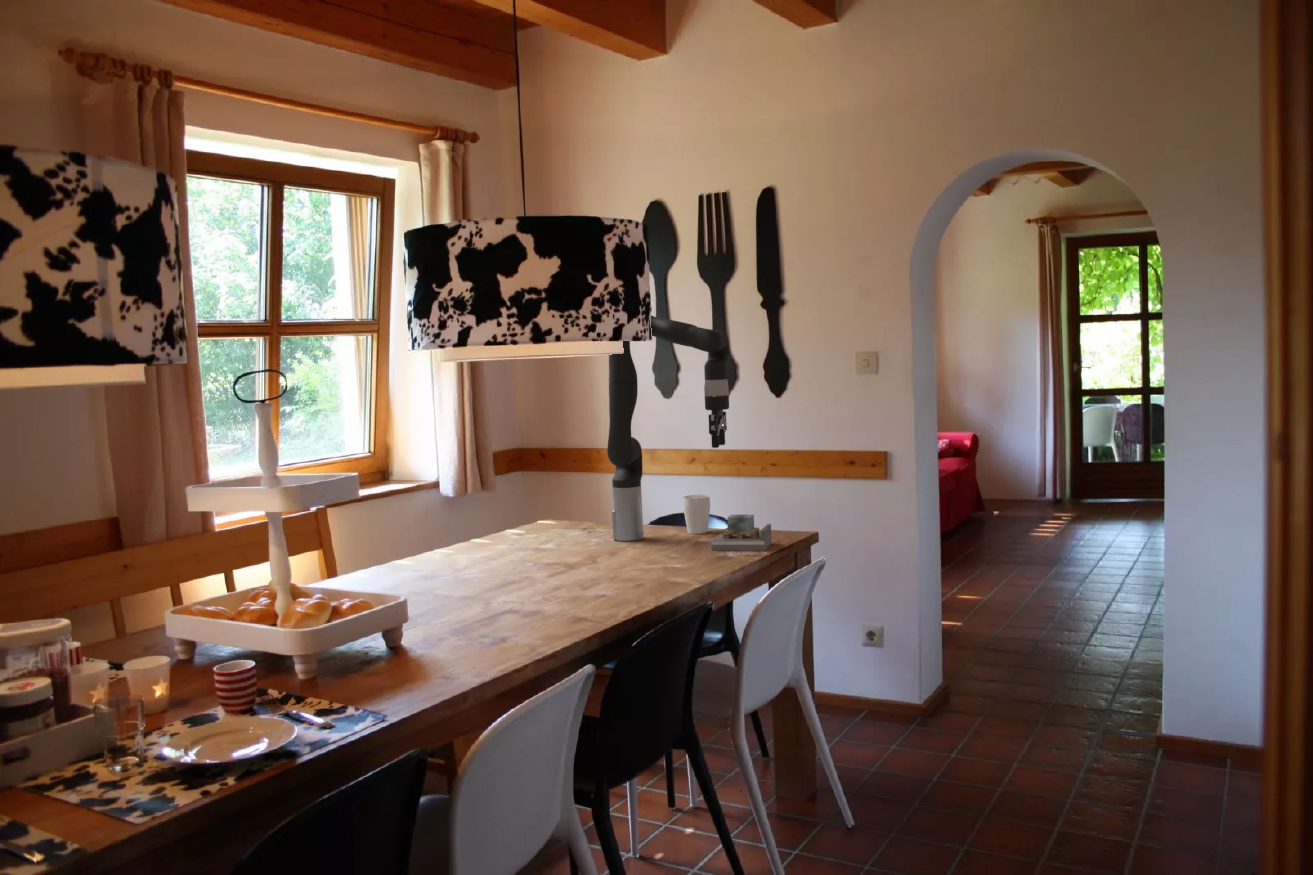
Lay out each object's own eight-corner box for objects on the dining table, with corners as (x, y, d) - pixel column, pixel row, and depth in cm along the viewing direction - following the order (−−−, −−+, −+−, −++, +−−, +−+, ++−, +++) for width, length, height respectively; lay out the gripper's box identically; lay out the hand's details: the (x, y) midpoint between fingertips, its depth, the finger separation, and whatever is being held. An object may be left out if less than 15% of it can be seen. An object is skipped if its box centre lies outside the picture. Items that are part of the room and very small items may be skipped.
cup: (679, 532, 352) (677, 496, 351) (703, 529, 356) (702, 493, 355) (691, 535, 344) (690, 499, 343) (716, 532, 348) (714, 496, 347)
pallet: (723, 538, 319) (722, 517, 318) (727, 535, 324) (726, 514, 324) (756, 538, 316) (755, 517, 315) (759, 535, 321) (758, 514, 321)
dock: (711, 550, 316) (711, 530, 316) (720, 543, 328) (719, 524, 328) (764, 550, 312) (763, 530, 312) (771, 543, 324) (770, 523, 323)
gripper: (710, 393, 336) (712, 444, 337) (699, 395, 322) (701, 448, 323) (733, 392, 334) (735, 444, 335) (723, 395, 320) (725, 448, 321)
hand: (718, 446), depth 329 cm, fingers open, 8 cm apart
